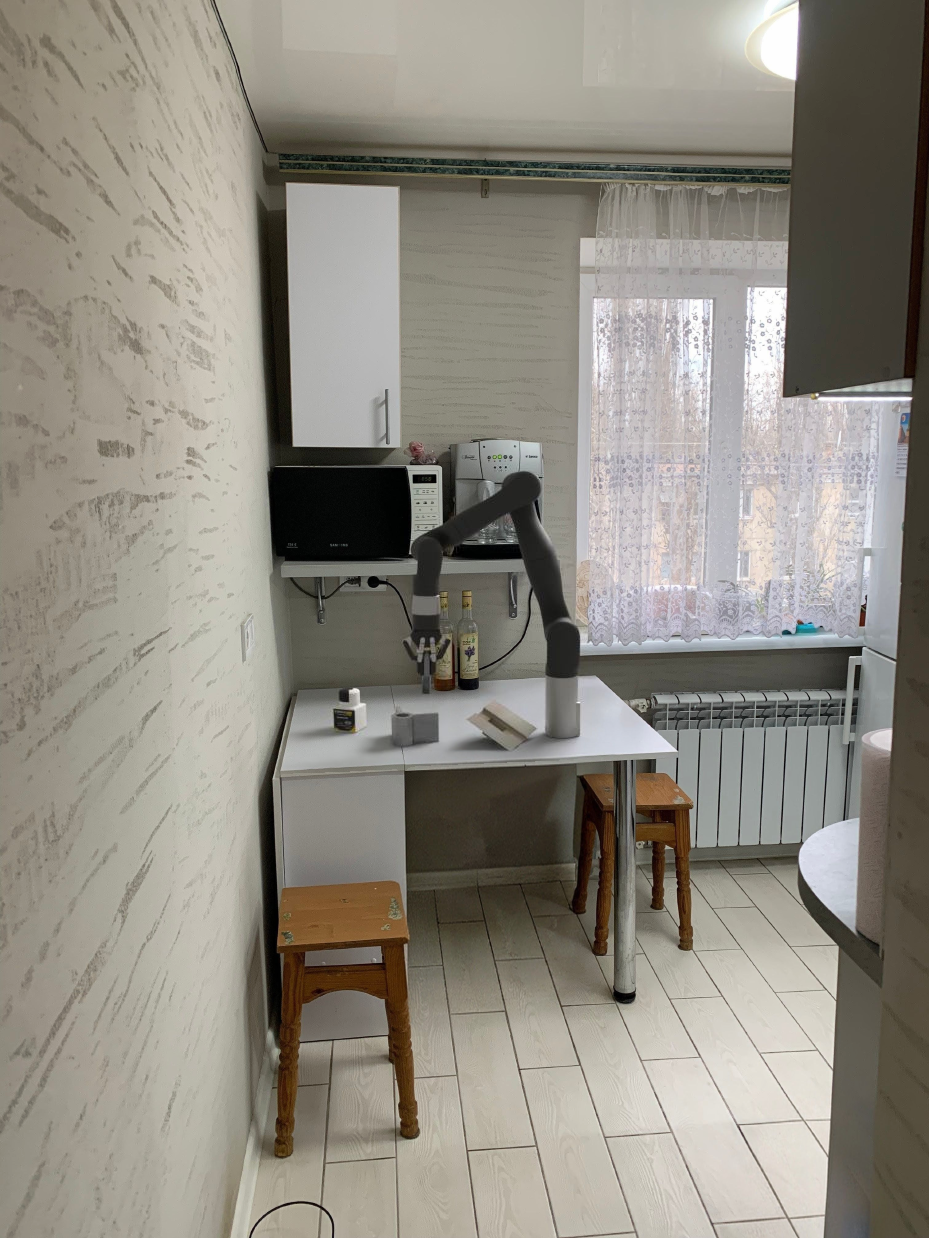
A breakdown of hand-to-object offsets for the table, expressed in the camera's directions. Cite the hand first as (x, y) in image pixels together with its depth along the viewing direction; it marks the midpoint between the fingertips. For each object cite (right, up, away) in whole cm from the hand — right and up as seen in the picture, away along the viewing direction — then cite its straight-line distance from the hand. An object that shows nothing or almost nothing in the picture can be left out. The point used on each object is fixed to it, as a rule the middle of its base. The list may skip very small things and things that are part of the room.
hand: (426, 674), depth 247 cm
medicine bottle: (-23, -17, +20) cm, 35 cm away
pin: (0, -5, +1) cm, 5 cm away
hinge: (-4, -19, +9) cm, 21 cm away
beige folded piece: (+21, -19, +7) cm, 30 cm away
